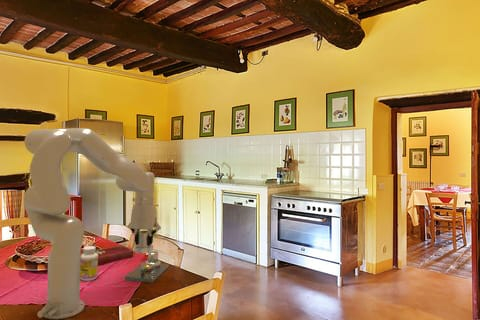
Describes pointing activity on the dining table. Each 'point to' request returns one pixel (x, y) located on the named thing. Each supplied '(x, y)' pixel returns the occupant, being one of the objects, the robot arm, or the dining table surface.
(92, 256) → the supplement bottle
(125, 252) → the hardcover book
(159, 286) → the dining table surface
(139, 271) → the carrier
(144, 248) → the grey flanged socket
